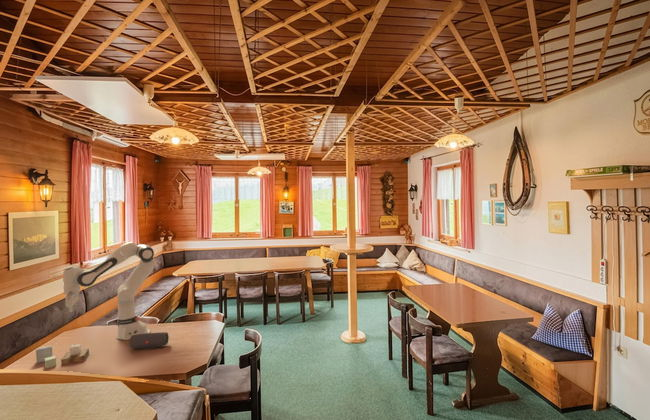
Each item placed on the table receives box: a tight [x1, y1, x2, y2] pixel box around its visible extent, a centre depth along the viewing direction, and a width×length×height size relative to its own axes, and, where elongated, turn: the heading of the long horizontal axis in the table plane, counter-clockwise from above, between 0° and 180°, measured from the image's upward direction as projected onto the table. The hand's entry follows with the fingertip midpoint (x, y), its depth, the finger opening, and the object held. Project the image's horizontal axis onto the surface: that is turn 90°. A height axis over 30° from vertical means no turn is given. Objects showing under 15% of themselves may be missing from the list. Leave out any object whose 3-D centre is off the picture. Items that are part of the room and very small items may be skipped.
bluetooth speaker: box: [129, 331, 170, 350], centre depth 229 cm, size 23×9×10 cm, turn 99°
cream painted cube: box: [69, 343, 82, 356], centre depth 215 cm, size 5×5×5 cm
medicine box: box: [35, 344, 54, 364], centre depth 214 cm, size 8×4×9 cm, turn 129°
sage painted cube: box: [44, 355, 57, 369], centre depth 206 cm, size 5×5×5 cm
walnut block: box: [60, 348, 90, 366], centre depth 215 cm, size 12×12×4 cm
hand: (72, 309), depth 230 cm, fingers open, 8 cm apart
